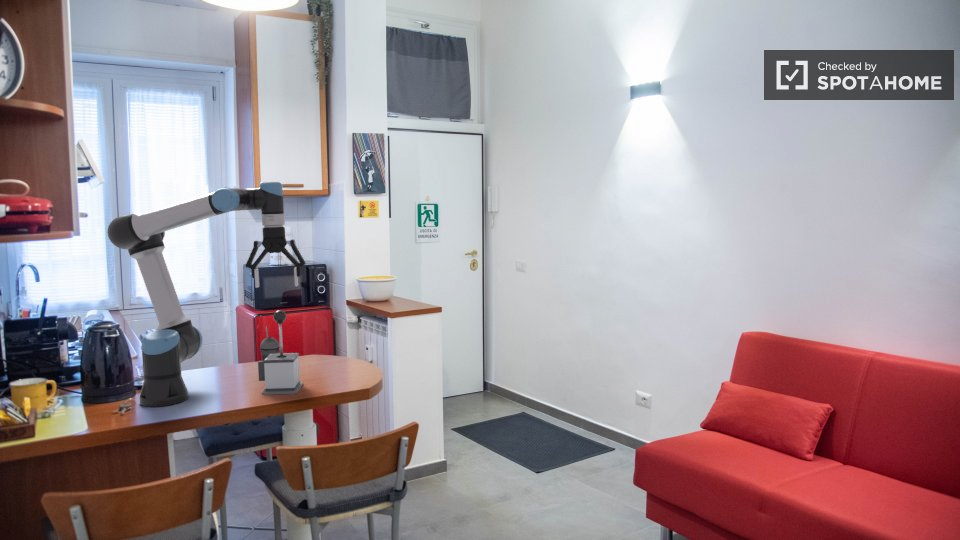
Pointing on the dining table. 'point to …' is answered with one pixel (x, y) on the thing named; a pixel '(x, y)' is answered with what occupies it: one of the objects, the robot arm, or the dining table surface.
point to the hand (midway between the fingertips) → (277, 286)
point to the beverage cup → (269, 346)
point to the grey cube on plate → (280, 374)
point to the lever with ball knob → (280, 327)
